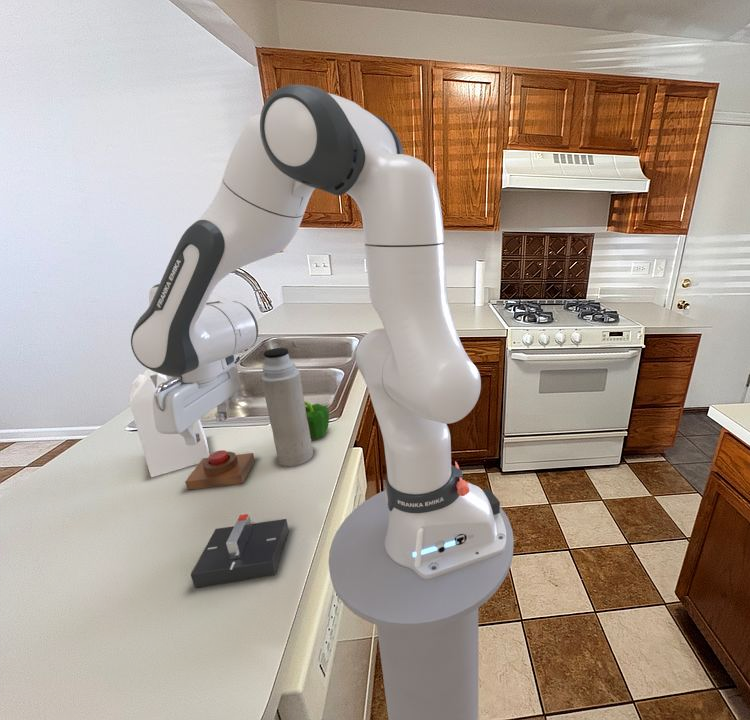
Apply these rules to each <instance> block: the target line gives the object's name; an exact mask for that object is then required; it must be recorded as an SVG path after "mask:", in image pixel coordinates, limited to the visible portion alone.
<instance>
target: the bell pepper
mask: <svg viewBox="0 0 750 720" xmlns="http://www.w3.org/2000/svg"><path fill="white" fill-rule="evenodd" d="M305 408H306V415H307V420H308V425H309V431H310V437H311V441H312V440H319V439H321V438H323V437H324V436H325V435H326V433H327V431H328V428H329V424H330V409H329V408H328V407H327V406H326V405H322V404H320V403H314V404H311V403H310V402H309V401H305Z"/></svg>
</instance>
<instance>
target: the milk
mask: <svg viewBox="0 0 750 720" xmlns="http://www.w3.org/2000/svg"><path fill="white" fill-rule="evenodd" d="M166 381H168V380H167V377H166V375H163V374H160V373H157V372H154V371H152V370H150V369H148V368H146V369H145V371H144V372H143V373H142V374H141V373H138V375H137V376H136V377H135V378H134V380H133V381H132V383H131V385H132V387H131V389H130V394H129V405H130V410H131V413H132V417H133V420H134V423H135V424H134V425H135V427H136V431H137V434H138V437H139V440H140V444H141V448H142V451H143V454H144V459H145V462H146V465H147V468H148V471H149V475H150V478H155V477H158V476H161V475H164V474H168V473H171V472H175V471H178V470H181V469H184V468H189V467H192V466H194V465H198V464H199V463H200V462H201V460H202V459H203V458H208V457H209V455H210V450H209V446H208V440H207V436H206V433H205V431H204V428H203V424H202V422H201V419H199V420H198V421H196V422H195V423H194V424H193V427H194V428H193V429H191V430H192V431H193V432H194V433H199V436H200V437H199V438H200V441H199V442H198V443H197V444H195V445H187V444H186V442H185V438H184V437H183V436H181V435H180V434H162V433H160V432H159V431H157V429H156V425H155V420H154V413H153V398H154V394H155V393H156V390H157V389H158V386H159V385H160V384H161V383H163V382H166Z"/></svg>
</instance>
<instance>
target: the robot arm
mask: <svg viewBox="0 0 750 720" xmlns="http://www.w3.org/2000/svg"><path fill="white" fill-rule="evenodd" d="M315 190H320V191H323V192H326V193H328V194H331V195H334V196H337V197H341V196H343V195H345V194H346V195H348V196H350V197H351V198H352V200H354V202H355V203H356V204H357V207H358V209H359V212H360V217H361V221H362V230H363V231H362V232H363V242H364V251H365V252H364V253H365V262H366V273H367V282H368V290H369V297H370V298H369V299H370V302H371V305H372V307H373V309H374V310H375V312H376V313H377V315H378V317H379V318H380V321H381V323H382V326H383V327H382V328H376V329H373V330H371V331H369V332H368V333H367V334H365V335H364V336H363V337H362V339H361V340H360V342H359V343H358V344H357V347H356V351H355V363H356V366H357V369H358V371H359V372H360V374H361V376H362V378H363V380H364V382H365V385H366V387H367V390H368V394H369V398H370V401H371V404H372V407H373V409H374V414H375V416H376V420H377V422H378V426H379V429H380V433H381V436H382V440H383V447H384V457H385V466H386V474H385V481H384V490H385V491H386V500H387V504H388V508H389V520H388V528H387V532H386V536H385V541H384V544H385V549H386V552H387V554H388V555H389V557H390V558H391V559H392V560H393V561H395V562H396V563H398V564H399V565H402V566H404V567H407V568H410V569H412V570H413V571H414V572H415V573H416V574H417V575H418V576H420V577H421V578H422V579H425V580H428V579H432V578H435V577H437V576H440V575H443V574H446V573H449V572H452V571H454V570H457V569H460V568H463V567H466V566H468V565H471V564H474V563H477V562H480V561H483V560H485V559H488V558H491V557H494V556H497V555H499V554H502V553H503V552H504V550H505V547H506V541H507V538H506V529H505V525H504V522H503V519H502V517H501V515H500V507H501V501H499V499H498V498H497V496H496V495H495V494H494V492H493V491H492V490H491V489H490V488H489V487H487V488H485V489H481V487H480V486H478V485H475V484H473V483H471V482H469V481H466V480H465V479H464V474H463V470H461V469H460V466H459V464H458V462H457V461H456V460H455V461H454V464H455V465H453V464H452V445H451V443H452V442H451V440H452V439H451V438H452V437H451V433H450V428H449V426H448V424H454V423H457V422H459V421H461V420H463V419H464V418H465V417H466V416H468V415H469V414H470V413H471V411H472V410H473V409H474V408H475V406H476V404H478V403H477V402H478V401H479V398H480V395H481V390H482V379H481V374H480V371H479V370H478V367H477V366H476V365H475V364H474V363H473V361H472V359H471V358H470V357H469V355H468V353H467V352H466V350H465V348H464V346H463V343H462V342H461V339H460V336H459V333H458V330H457V328H456V324H455V321H454V318H453V314H452V311H451V308H450V302H449V297H448V296H449V295H448V290H447V289H448V288H447V272H446V271H447V270H446V269H447V268H446V252H445V251H446V250H445V230H444V229H445V228H444V219H443V211H442V205H441V198H440V194H439V193H440V192H439V188H438V184H437V180H436V176H435V173H434V171H433V170H432V168H431V167H430V166H429V165H428V164H427V163H426V162H424V161H423V160H421V159H420V158H418V157H415V156H412V155H409V154H405V153H404V147H403V144H402V142H401V139H400V137H399V136H398V134H397V132H396V131H395V130H394V128H393V127H392V126H391V125H390V124H389V123H388V122H387V121H385V120H384V119H383V117H380V116H378V115H377V114H374V113H371V112H370V111H368V110H366V109H365V108H363V107H361V106H360V105H359V104H358V103H356V102H355V101H353V100H350V99H348V98H345V97H343V96H340V95H337V94H334V93H329V92H327V91H325V90H324V89H322V88H320V87H317V86H312V85H308V84H288V85H283V86H280V87H278V88H276V89H275V90H274V91H272V92H271V93H270V95H268V97H266V99H265V101H264V103H263V105H262V109H261V112H260V113H257V114H255V115H253V116H251V117H250V118H249V119H248V120H247V121H246V123H245V125H244V126H243V128H242V130H241V131H240V133H239V135H238V137H237V139H236V141H235V143H234V145H233V148H232V149H231V152H230V155H229V158H228V160H227V163H226V165H225V169H224V173H223V175H222V178H221V181H220V185H219V187H218V190H217V192H216V194H215V195H214V197H213V200H212V201H211V203H210V204H209V205H208V207H207V208H206V210H205V211H204V212H203V213H202V215H200V217H199V218H198V219H197V220H196V221H195V222H193V223H192V224H191V225H190V226H189V227H187V229H186V230H185V231H184V233H183V234H182V235H181V237H180V239H179V241H178V242H177V245H176V247H175V248H174V251H173V253H172V255H171V258H170V260H169V262H168V264H167V266H166V269H165V271H164V273H163V276H162V278H161V280H160V283H157V284H154V285H153V286H152V287H151V288H149V293H148V302H149V303H148V304H149V306H148V308H147V309H146V311H144V312H143V314H141V316H140V317H139V318H138V320H137V321H136V323H135V325H134V327H133V329H132V333H131V336H130V347H131V350H132V353H133V355H134V357H135V358H136V360H137V362H138V363H140V365H142V366H143V367H144V368H146V369H150V370H152V371H154V372H157V373H160V374H163V375H166V377H167V380H168V381H166V382H163V383H161V384H160V385H159V386H158V389H157V390H156V393H155V394H154V398H153V413H154V420H155V425H156V429H157V431H159V432H160V433H162V434H180V435H181V436H183V437H184V438H185V442H186V444H187V445H195V444H197V443H198V442H199V441H200V438H199V437H200V436H199V433H194V432H193V431H192V430H191V429H193V428H194V427H193V424H194V423H195V422H196V421H198V420H199V419H200V420H201V419H202V418H203V417H205V416H206V415H208V414H209V413H210V412H211V411H213V410H214V409H215V408H216V412H215V413H214V416H215V420H216V422H225V421H226V420H227V419H229V417H230V416H229V406H230V398H231V397H232V396H233V395H235V394H236V393H238V391H239V389H240V384H241V383H240V375H239V370H238V366H237V364H236V363H235V362H237V354H240V353H243V352H245V351H247V350H248V349H251V348H252V347H254V345H255V344H256V343H257V340H258V337H259V326H258V322H257V319H256V317H255V314H254V313H253V312H252V311H251V309H250V308H249V307H247V306H246V305H244V304H243V303H241V302H239V301H236V300H230V299H227V298H224V297H222V296H219V295H217V294H216V293H213V292H214V289H215V288H216V286H217V285H218V284H219V283H220V282H221V281H222V280H223V279H224V278H226V277H227V276H228V275H230V274H232V273H233V272H235V271H237V270H238V269H239V270H240V268H243V267H245V266H247V265H250V264H252V263H254V262H258V261H260V260H263V259H266V258H269V257H272V256H275V255H276V254H279V253H280V252H282V251H283V250H285V249H286V248H287V247H288V246H289V244H290V243H291V242H292V240H293V239H294V237H295V236H296V234H297V232H298V230H299V228H300V226H301V223H302V221H303V218H304V215H305V212H306V209H307V207H308V204H309V202H310V199H311V196H312V194H313V192H314V191H315ZM432 569H435V570H432Z"/></svg>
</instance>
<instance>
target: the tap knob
mask: <svg viewBox="0 0 750 720" xmlns="http://www.w3.org/2000/svg"><path fill="white" fill-rule="evenodd" d="M251 522H252V520H251V517H250V514H249V513H246V514H239V516H238V517H237V520H236V521H235V524H234V525H233V526H234V528H233V530H232V532H231V534H230V536H229V538H228V540H227V542H226V545H227V549H228V552H229V556H230V559H238V558H241V557H242V554H243V552H244V550H245V547H246V545H247V543H248V540H249V538H250V535H251V533H252V531H253V528H252V524H251Z"/></svg>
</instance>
